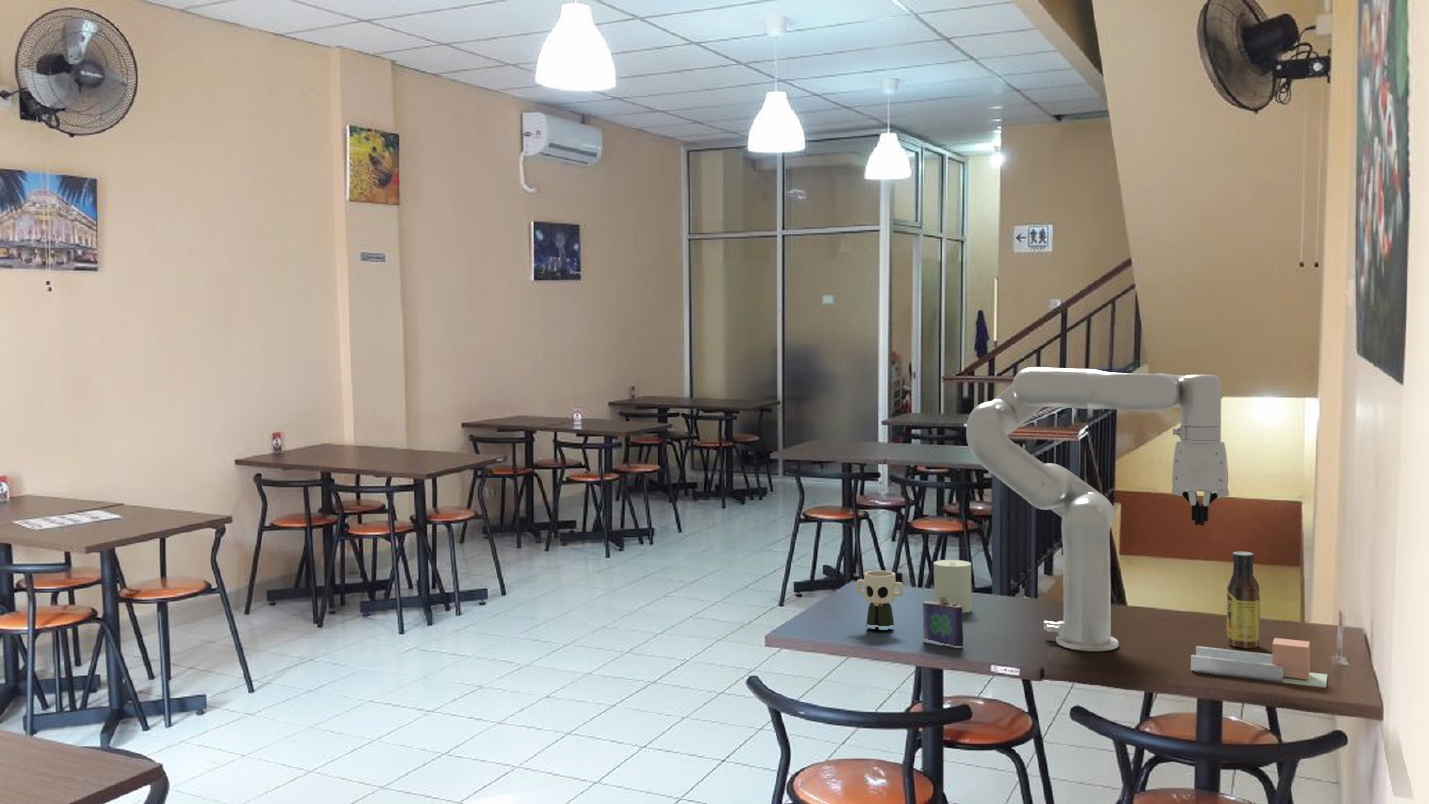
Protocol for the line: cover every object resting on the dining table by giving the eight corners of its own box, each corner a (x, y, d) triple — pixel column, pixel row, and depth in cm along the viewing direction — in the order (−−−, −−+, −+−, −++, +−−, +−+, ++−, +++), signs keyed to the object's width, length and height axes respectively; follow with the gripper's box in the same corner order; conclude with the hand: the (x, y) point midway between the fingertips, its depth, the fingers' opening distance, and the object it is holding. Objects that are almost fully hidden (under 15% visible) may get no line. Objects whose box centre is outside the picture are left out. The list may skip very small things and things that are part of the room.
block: (1272, 675, 208) (1272, 643, 208) (1274, 668, 212) (1274, 637, 212) (1308, 679, 205) (1308, 647, 205) (1309, 672, 209) (1309, 641, 209)
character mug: (852, 631, 249) (851, 574, 249) (862, 624, 256) (861, 568, 255) (899, 635, 245) (898, 577, 244) (907, 628, 251) (907, 572, 251)
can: (934, 613, 265) (933, 564, 265) (933, 605, 274) (932, 557, 274) (973, 614, 264) (972, 564, 263) (970, 605, 273) (970, 558, 273)
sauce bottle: (1231, 640, 236) (1231, 548, 235) (1263, 644, 232) (1263, 551, 231) (1223, 646, 231) (1223, 553, 230) (1255, 651, 227) (1255, 556, 226)
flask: (921, 642, 238) (920, 594, 238) (927, 640, 240) (927, 591, 240) (959, 649, 232) (959, 599, 232) (966, 646, 234) (966, 597, 234)
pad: (1283, 682, 205) (1283, 681, 205) (1286, 671, 213) (1286, 669, 213) (1325, 687, 202) (1325, 686, 202) (1327, 675, 209) (1327, 674, 209)
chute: (1190, 671, 213) (1190, 656, 213) (1196, 660, 221) (1196, 645, 221) (1283, 682, 205) (1283, 666, 205) (1286, 671, 213) (1286, 655, 213)
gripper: (1158, 435, 224) (1157, 524, 224) (1239, 437, 216) (1238, 529, 217) (1164, 432, 230) (1164, 519, 231) (1243, 434, 222) (1242, 524, 223)
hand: (1200, 524), depth 224 cm, fingers closed
